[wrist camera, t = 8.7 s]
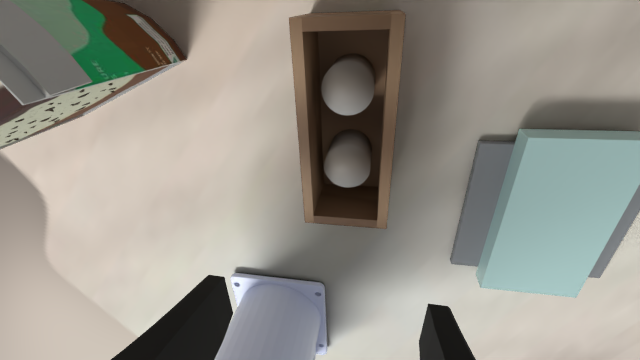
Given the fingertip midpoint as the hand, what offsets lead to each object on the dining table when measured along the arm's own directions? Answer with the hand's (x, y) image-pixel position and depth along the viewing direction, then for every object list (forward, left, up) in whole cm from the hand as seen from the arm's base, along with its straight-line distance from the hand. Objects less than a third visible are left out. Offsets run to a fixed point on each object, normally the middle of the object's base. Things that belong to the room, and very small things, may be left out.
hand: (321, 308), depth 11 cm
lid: (-2, -12, -10) cm, 15 cm away
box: (+4, 0, -10) cm, 11 cm away
